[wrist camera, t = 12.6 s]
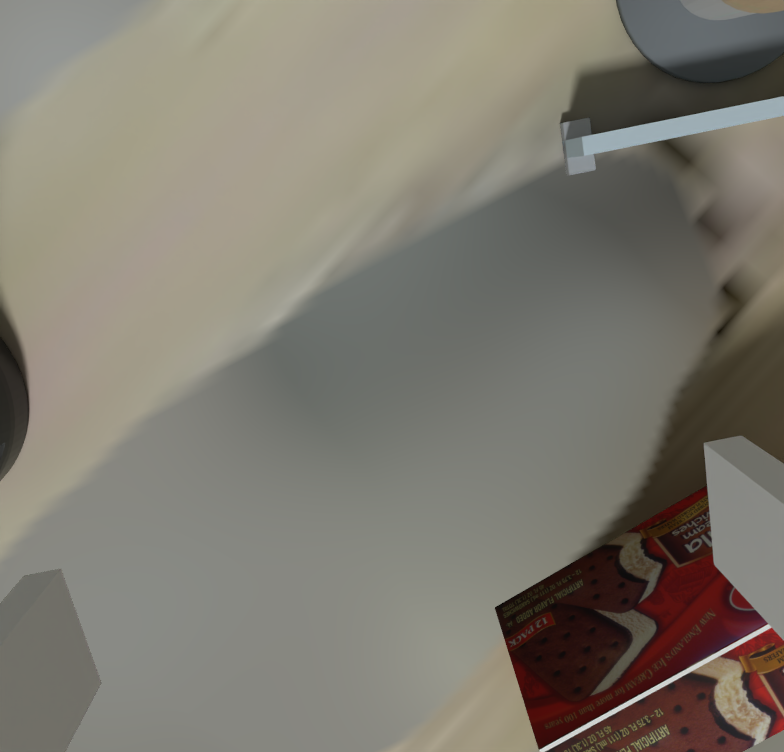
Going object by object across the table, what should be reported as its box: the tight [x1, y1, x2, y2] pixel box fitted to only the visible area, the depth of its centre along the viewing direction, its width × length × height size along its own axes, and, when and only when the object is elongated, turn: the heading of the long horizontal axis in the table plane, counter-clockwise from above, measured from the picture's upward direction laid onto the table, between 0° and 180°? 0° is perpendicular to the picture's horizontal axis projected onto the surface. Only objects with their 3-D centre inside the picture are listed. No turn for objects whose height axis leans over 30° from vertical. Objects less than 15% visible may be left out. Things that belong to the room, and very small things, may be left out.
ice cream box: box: [495, 486, 784, 752], centre depth 44 cm, size 20×6×13 cm, turn 123°
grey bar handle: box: [560, 96, 784, 175], centre depth 41 cm, size 16×3×4 cm, turn 101°
